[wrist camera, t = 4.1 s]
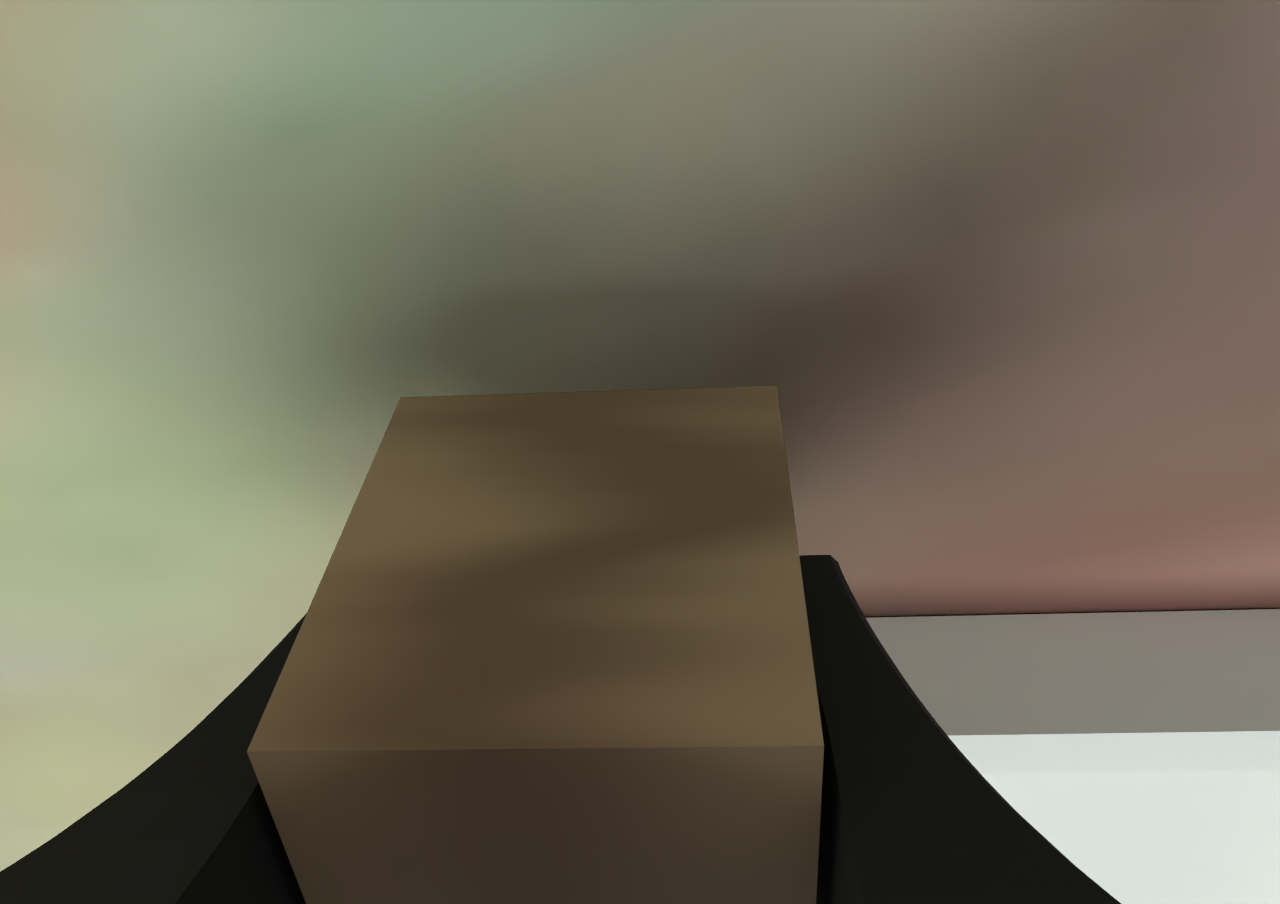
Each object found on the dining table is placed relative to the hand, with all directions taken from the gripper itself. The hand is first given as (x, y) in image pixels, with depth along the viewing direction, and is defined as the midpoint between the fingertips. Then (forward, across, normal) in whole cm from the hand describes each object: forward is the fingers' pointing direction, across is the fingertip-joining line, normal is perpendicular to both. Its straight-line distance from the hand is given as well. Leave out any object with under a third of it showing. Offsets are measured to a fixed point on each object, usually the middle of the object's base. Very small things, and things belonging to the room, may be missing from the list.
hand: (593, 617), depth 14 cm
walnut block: (+2, 0, 0) cm, 2 cm away
